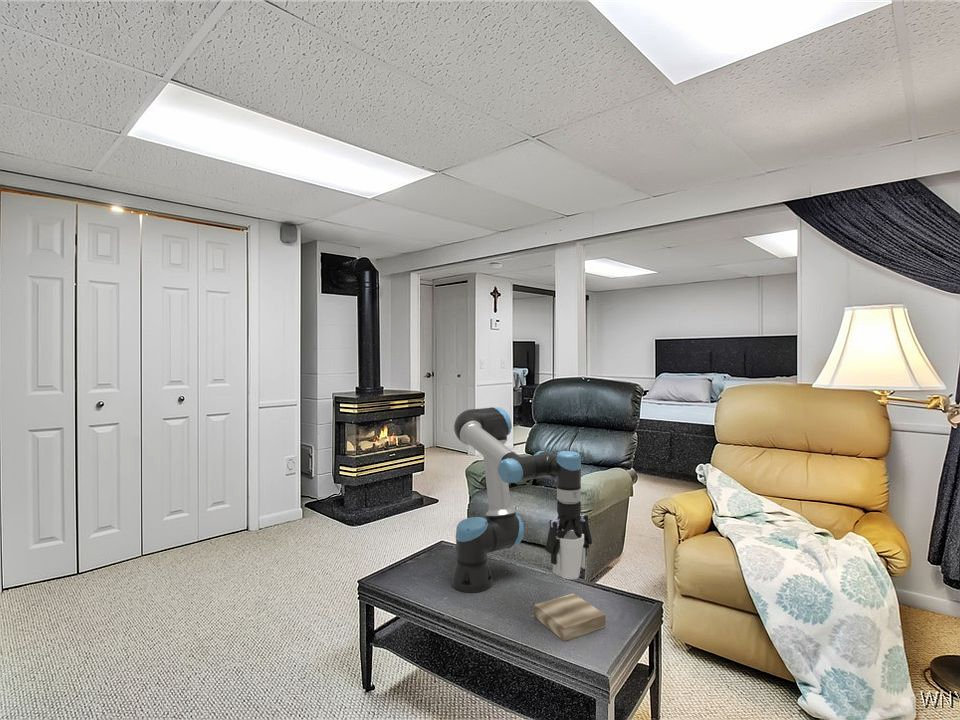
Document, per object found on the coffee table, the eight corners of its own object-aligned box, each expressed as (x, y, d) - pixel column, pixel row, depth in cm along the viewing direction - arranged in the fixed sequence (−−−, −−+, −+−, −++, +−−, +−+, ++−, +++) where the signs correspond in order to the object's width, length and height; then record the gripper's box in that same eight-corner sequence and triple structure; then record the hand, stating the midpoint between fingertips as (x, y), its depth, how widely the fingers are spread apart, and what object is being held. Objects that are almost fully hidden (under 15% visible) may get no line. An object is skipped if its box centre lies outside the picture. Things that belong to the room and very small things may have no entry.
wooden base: (534, 616, 171) (534, 604, 170) (573, 604, 178) (573, 593, 178) (564, 641, 156) (564, 628, 156) (605, 627, 164) (605, 614, 164)
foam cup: (550, 578, 164) (550, 537, 164) (559, 566, 173) (559, 528, 172) (580, 583, 160) (580, 542, 160) (587, 571, 169) (587, 532, 168)
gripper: (547, 509, 157) (547, 582, 158) (603, 498, 168) (603, 567, 168) (533, 502, 164) (533, 573, 165) (588, 492, 174) (588, 558, 175)
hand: (569, 570), depth 167 cm, fingers closed on foam cup, 9 cm apart
